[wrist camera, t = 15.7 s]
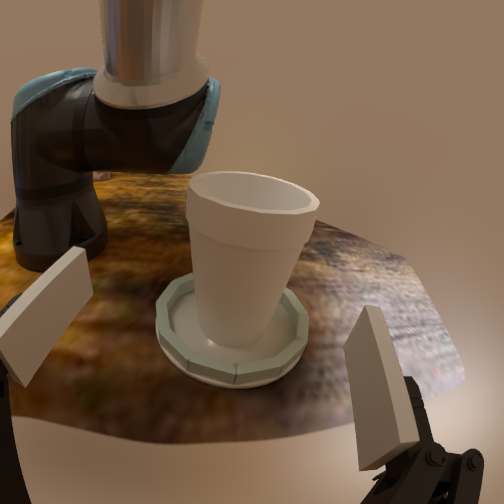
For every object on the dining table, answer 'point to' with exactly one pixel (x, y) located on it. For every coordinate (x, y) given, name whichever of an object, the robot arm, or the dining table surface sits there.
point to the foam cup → (244, 249)
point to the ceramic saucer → (224, 358)
